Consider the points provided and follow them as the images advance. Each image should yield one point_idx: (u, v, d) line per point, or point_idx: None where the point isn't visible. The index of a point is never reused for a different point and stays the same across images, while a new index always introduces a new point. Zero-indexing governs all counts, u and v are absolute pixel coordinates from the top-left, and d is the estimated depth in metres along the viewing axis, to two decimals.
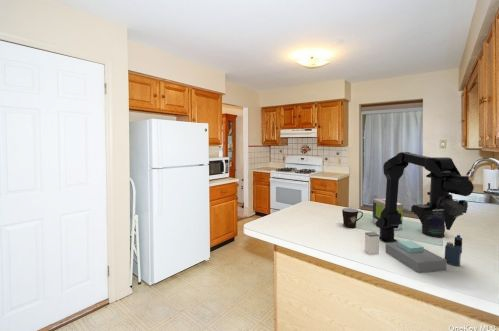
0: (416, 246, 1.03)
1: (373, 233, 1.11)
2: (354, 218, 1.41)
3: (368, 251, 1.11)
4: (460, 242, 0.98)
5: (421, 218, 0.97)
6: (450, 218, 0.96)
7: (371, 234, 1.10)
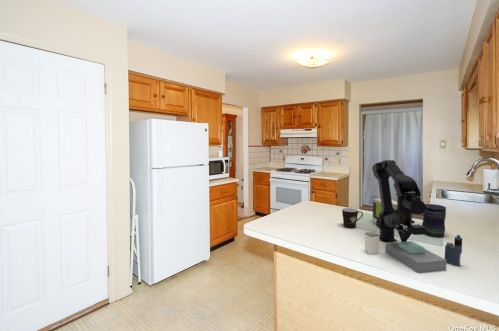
0: (417, 247, 1.02)
1: (373, 233, 1.11)
2: (354, 218, 1.41)
3: (368, 251, 1.11)
4: (460, 242, 0.98)
5: None
6: None
7: (371, 234, 1.10)
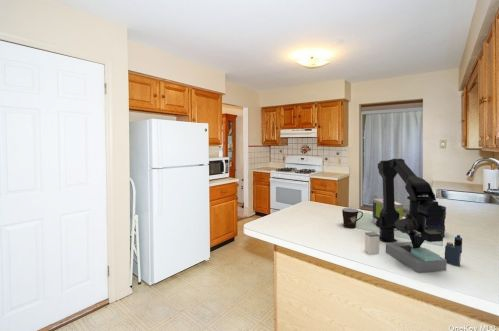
0: (432, 254, 0.95)
1: (373, 233, 1.11)
2: (354, 218, 1.41)
3: (368, 251, 1.11)
4: (460, 242, 0.98)
5: None
6: None
7: (371, 234, 1.10)
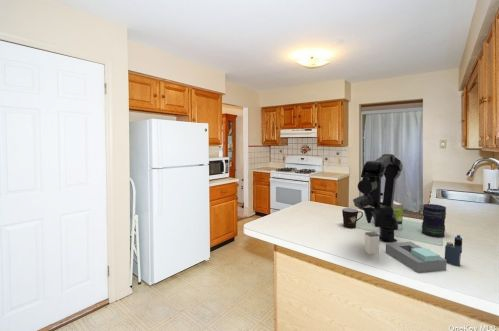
0: (432, 254, 0.95)
1: (373, 233, 1.11)
2: (354, 218, 1.41)
3: (368, 251, 1.11)
4: (460, 242, 0.98)
5: None
6: None
7: (371, 234, 1.10)
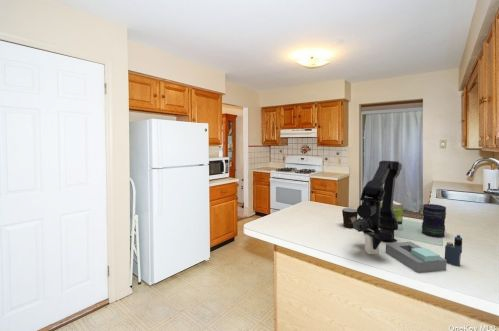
0: (432, 254, 0.95)
1: None
2: (354, 218, 1.41)
3: (368, 251, 1.11)
4: (460, 242, 0.98)
5: None
6: None
7: (371, 234, 1.10)
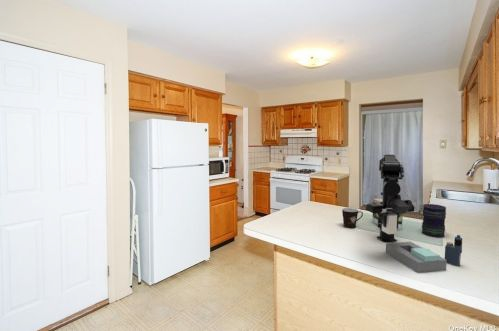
0: (432, 254, 0.95)
1: (388, 212, 1.08)
2: (354, 218, 1.41)
3: (394, 231, 1.06)
4: (460, 242, 0.98)
5: (380, 215, 1.08)
6: None
7: (392, 213, 1.07)
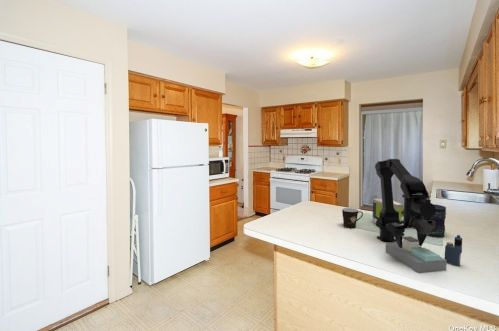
0: (432, 254, 0.95)
1: (409, 237, 1.06)
2: (354, 218, 1.41)
3: None
4: (460, 242, 0.98)
5: (395, 235, 1.05)
6: (422, 235, 1.05)
7: (414, 239, 1.04)
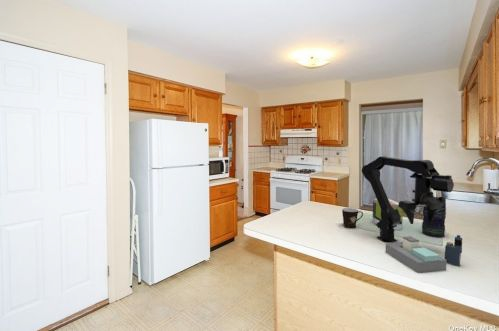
0: (432, 254, 0.95)
1: (409, 237, 1.06)
2: (354, 218, 1.41)
3: None
4: (460, 242, 0.98)
5: (407, 212, 1.12)
6: (432, 212, 1.11)
7: (414, 239, 1.04)
